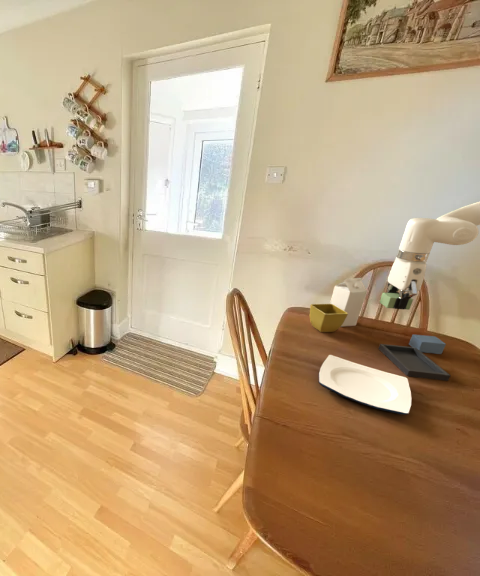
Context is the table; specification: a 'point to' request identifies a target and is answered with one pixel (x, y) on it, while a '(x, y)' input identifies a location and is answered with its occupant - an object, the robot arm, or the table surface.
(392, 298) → the sage pad
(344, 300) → the milk carton
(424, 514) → the table surface
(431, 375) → the tray
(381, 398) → the plate
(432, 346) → the blue block
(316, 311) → the flower pot
